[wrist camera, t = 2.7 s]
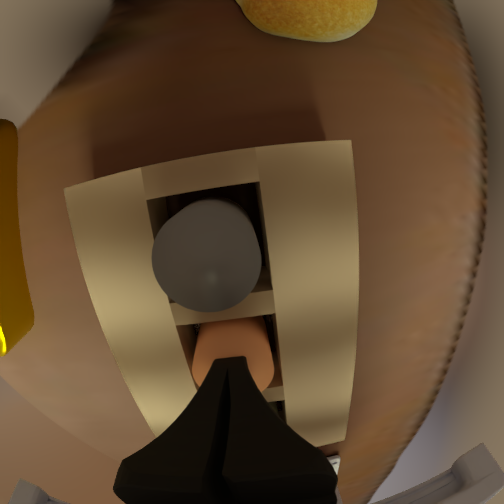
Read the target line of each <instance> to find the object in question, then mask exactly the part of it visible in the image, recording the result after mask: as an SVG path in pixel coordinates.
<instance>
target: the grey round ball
mask: <svg viewBox="0 0 504 504" xmlns="http://www.w3.org/2000/svg"><path fill="white" fill-rule="evenodd" d="M151 258H152V268H153V272H154V275H155V278H156V280H157V282H158V284H159V285H160V287H161V289H162V290H163V291H164V292H165V294H166V295H167V296H169V297H170V298H171V299H172V300H173V301H175V302H176V303H177V304H179V305H181V306H183V307H185V308H187V309H190V310H194V311H198V312H218V311H223V310H226V309H229V308H231V307H233V306H235V305H237V304H238V303H240V302H241V301H243V300H244V299H245V298H246V297H247V296H248V295H249V294H250V293H251V291H252V290H253V288H254V287H255V285H256V283H257V281H258V278H259V275H260V271H261V252H260V248H259V244H258V241H257V237H256V234H255V231H254V227H253V224H252V221H251V219H250V217H249V216H248V214H247V213H246V211H245V210H244V209H243V208H242V207H241V206H240V205H238V204H237V203H235V202H234V201H232V200H230V199H227V198H224V197H219V196H208V197H203V198H200V199H197V200H195V201H193V202H191V203H190V204H189V205H187V206H186V207H185V208H183V209H182V210H181V211H179V212H178V213H177V214H176V215H174V216H173V217H172V218H170V219H169V220H168V221H167V222H166V223H165V224H164V225H163V227H162V228H161V229H160V231H159V232H158V234H157V236H156V238H155V241H154V244H153V248H152V256H151Z"/></svg>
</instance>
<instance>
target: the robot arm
mask: <svg viewBox="0 0 504 504" xmlns="http://www.w3.org/2000/svg"><path fill="white" fill-rule="evenodd" d="M339 464H340V456H338V455H335V456H331V457H326V456H325V455H324V453H323V452H322V451H321V450H320V449H318V448H316V447H315V446H313V445H312V444H310V443H309V442H308V441H306V440H305V439H304V438H302V437H301V436H300V435H299V434H297V433H296V432H295V431H294V430H293V429H292V428H291V427H290V426H289V425H287V424H286V423H285V422H284V421H283V420H282V419H281V418H280V417H279V415H278V414H277V413H276V412H275V411H274V410H273V408H272V407H271V406H270V405H269V403H268V402H267V401H266V399H265V398H264V396H263V395H262V393H261V392H260V390H259V389H258V387H257V385H256V383H255V381H254V380H253V378H252V376H251V373H250V371H249V368H248V364H247V359H246V357H245V356H237V357H228V358H219V359H215V360H214V361H213V363H212V365H211V367H210V369H209V371H208V373H207V375H206V377H205V379H204V381H203V382H202V384H201V386H200V387H199V389H198V391H197V392H196V394H195V395H194V397H193V398H192V400H191V401H190V402H189V404H188V405H187V407H186V408H185V409H184V410H183V412H182V413H181V414H180V415H179V416H178V417H177V419H176V420H175V421H174V422H173V423H172V424H171V425H170V426H169V427H168V428H167V429H166V430H165V431H164V432H163V433H162V434H160V435H159V436H158V437H157V438H155V439H154V440H153V441H152V442H150V443H149V444H148V445H146V446H145V447H144V448H142V449H141V450H139V451H137V452H136V453H134V454H132V455H131V456H129V457H127V458H125V459H123V460H122V462H121V465H120V467H119V469H118V472H117V476H116V479H115V483H114V486H113V490H114V493H115V494H116V495H117V496H118V497H119V498H120V499H121V500H122V501H123V502H124V503H126V504H342V500H341V497H340V493H339V490H338V487H337V482H338V477H337V473H338V469H339ZM502 488H504V472H503V471H502V469H501V468H500V466H499V465H498V463H497V462H496V460H495V459H494V458H493V456H492V455H491V453H490V452H489V450H488V449H487V447H486V446H485V445H484V443H481V444H479V445H478V446H476V447H475V448H473V449H471V450H470V451H468V452H467V453H465V454H463V455H462V456H461V457H459V458H458V459H457V460H456V461H455V462H454V463H453V465H452V467H451V468H450V469H449V470H447V471H445V472H443V473H441V474H439V475H437V476H435V477H434V478H432V479H430V480H428V481H426V482H423V483H421V484H419V485H417V486H415V487H413V488H411V489H408V490H406V491H404V492H401V493H399V494H396V495H394V496H391V497H389V498H386V499H384V500H381V501H378V502H375V503H372V504H485V503H486V502H488V501H489V500H490V499H491V498H492V497H493V496H495V495H496V494H497V493H498V492H499V491H500V490H501V489H502ZM8 504H70V503H67V502H64V501H61V500H59V499H56V498H54V497H51V496H49V495H48V494H47V493H46V492H45V491H44V490H42V489H41V488H40V487H38V486H36V485H34V484H32V483H30V482H28V481H26V480H23V479H21V478H20V479H19V481H18V483H17V485H16V487H15V489H14V492H13V494H12V496H11V498H10V501H9V503H8Z"/></svg>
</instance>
